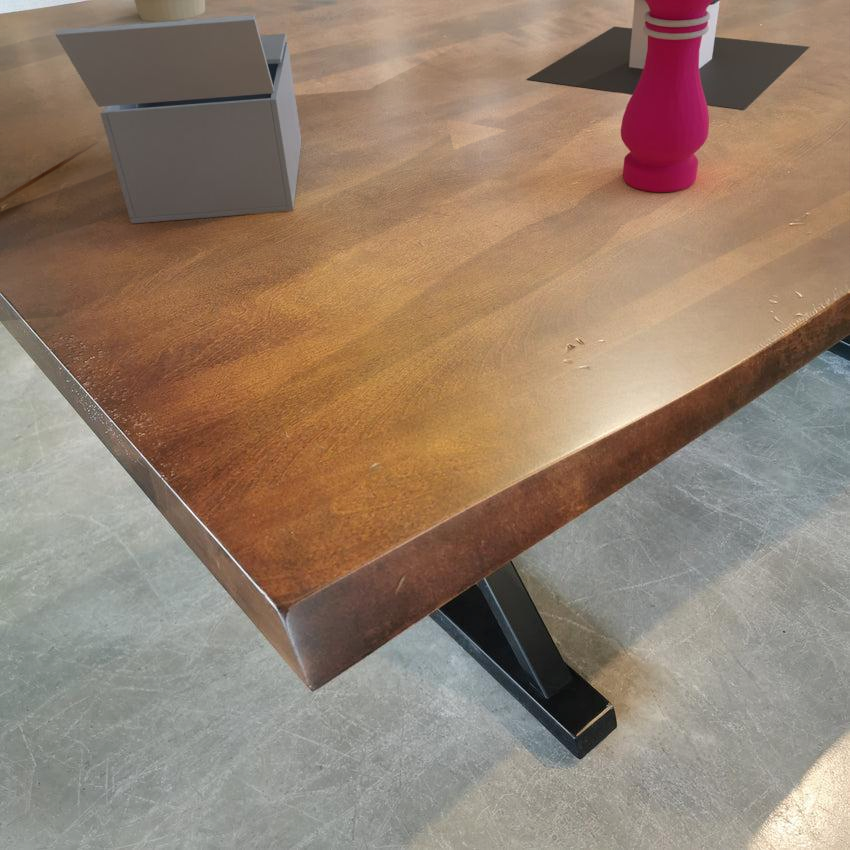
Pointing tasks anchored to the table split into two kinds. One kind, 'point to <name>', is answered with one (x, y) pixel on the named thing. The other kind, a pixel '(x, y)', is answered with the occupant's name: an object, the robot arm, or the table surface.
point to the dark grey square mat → (718, 62)
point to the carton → (210, 150)
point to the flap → (169, 60)
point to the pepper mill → (668, 100)
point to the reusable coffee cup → (169, 9)
